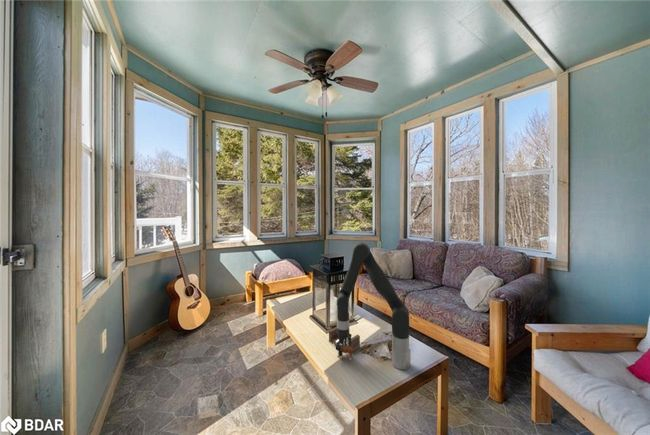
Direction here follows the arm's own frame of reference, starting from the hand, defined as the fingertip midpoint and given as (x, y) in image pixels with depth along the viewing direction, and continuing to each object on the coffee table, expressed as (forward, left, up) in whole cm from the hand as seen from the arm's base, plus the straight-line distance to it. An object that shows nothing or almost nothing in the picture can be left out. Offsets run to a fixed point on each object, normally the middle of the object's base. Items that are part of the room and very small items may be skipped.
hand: (343, 353), depth 151 cm
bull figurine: (0, 0, -2) cm, 2 cm away
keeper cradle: (+8, -11, -2) cm, 14 cm away
